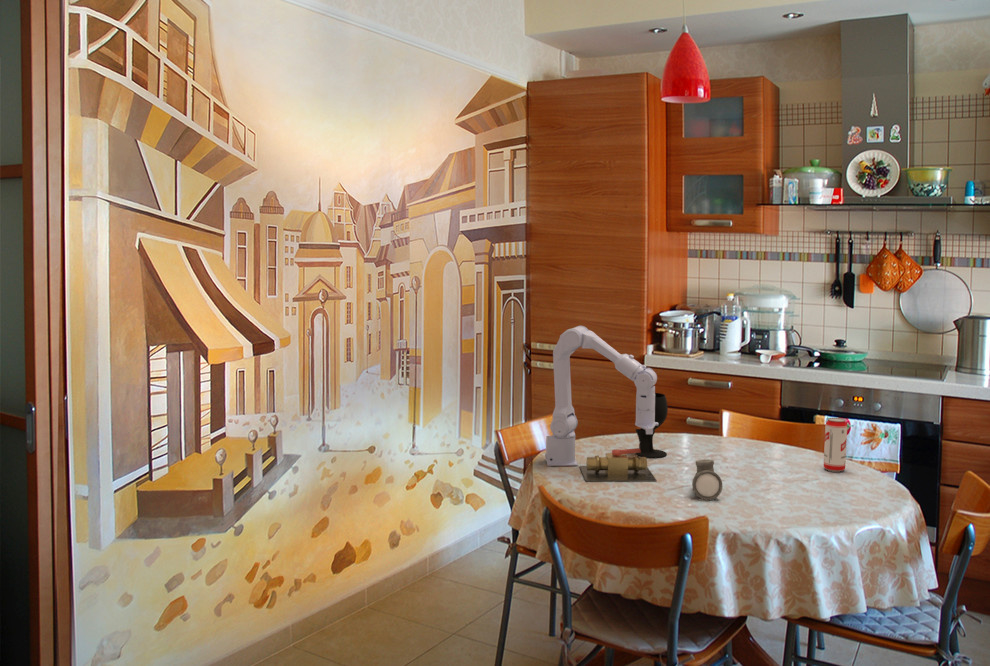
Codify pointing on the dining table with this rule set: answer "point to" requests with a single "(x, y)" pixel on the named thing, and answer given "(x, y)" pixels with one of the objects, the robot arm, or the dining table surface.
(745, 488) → the dining table surface
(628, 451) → the lever
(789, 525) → the dining table surface
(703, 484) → the pipe fitting
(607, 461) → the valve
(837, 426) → the beer can
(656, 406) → the wine glass
